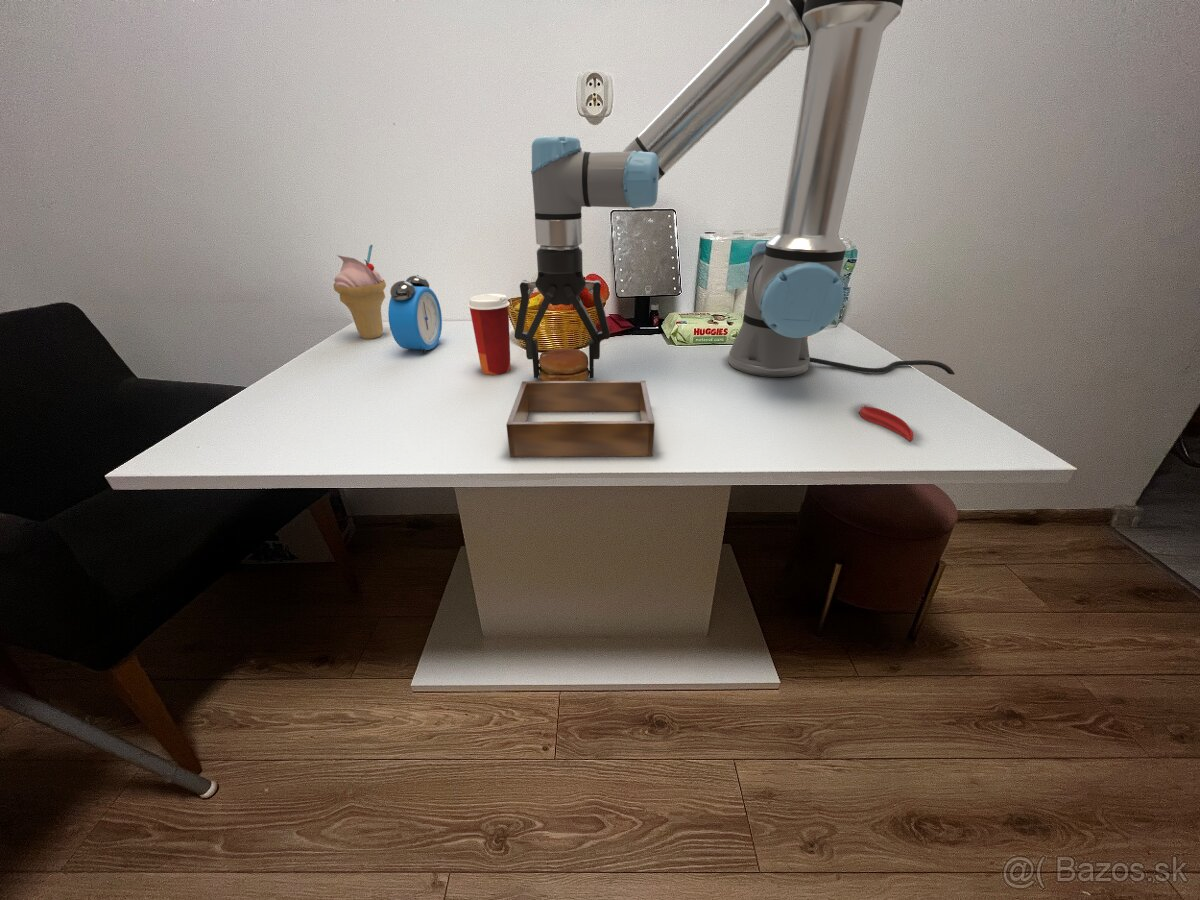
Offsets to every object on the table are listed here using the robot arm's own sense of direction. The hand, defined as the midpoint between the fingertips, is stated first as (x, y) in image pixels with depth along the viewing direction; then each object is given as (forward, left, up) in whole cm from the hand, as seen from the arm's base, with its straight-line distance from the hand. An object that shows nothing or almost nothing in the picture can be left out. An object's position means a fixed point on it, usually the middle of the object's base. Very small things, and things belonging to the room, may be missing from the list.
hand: (564, 375), depth 95 cm
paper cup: (+14, -6, -1) cm, 15 cm away
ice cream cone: (+48, -30, -1) cm, 57 cm away
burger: (0, 0, 0) cm, 1 cm away
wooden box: (-4, +21, -1) cm, 21 cm away
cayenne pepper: (-50, +19, -1) cm, 54 cm away
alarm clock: (+33, -20, -1) cm, 39 cm away
